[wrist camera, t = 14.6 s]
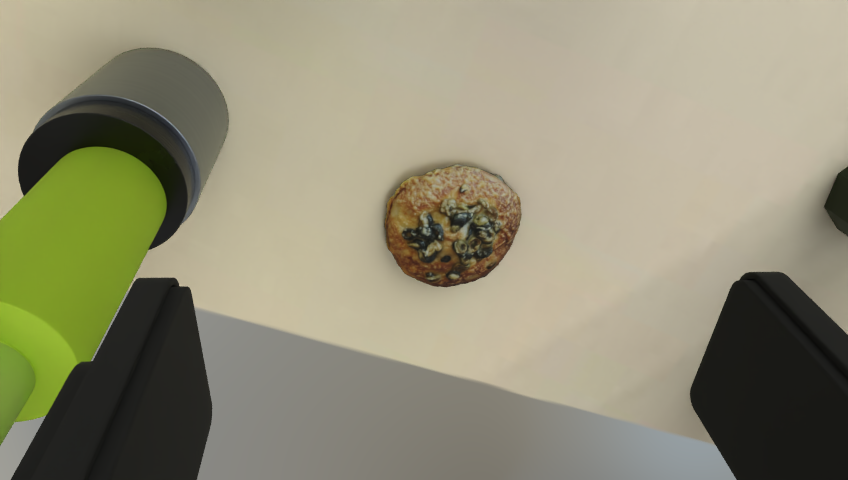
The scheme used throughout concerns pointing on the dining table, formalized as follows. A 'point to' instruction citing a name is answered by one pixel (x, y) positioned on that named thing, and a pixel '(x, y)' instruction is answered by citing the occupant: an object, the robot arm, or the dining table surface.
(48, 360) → the soap dispenser
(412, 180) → the bread roll
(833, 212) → the wine bottle
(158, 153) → the grey and black cylinder
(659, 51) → the dining table surface
